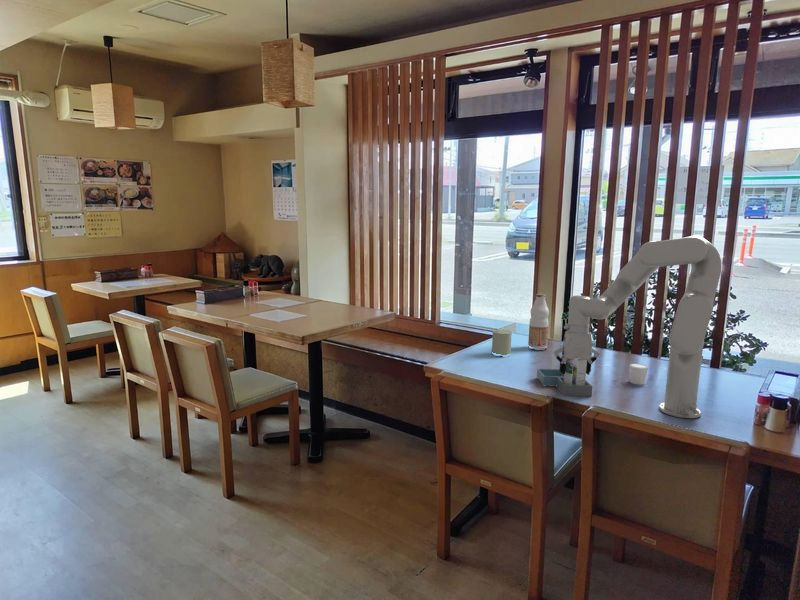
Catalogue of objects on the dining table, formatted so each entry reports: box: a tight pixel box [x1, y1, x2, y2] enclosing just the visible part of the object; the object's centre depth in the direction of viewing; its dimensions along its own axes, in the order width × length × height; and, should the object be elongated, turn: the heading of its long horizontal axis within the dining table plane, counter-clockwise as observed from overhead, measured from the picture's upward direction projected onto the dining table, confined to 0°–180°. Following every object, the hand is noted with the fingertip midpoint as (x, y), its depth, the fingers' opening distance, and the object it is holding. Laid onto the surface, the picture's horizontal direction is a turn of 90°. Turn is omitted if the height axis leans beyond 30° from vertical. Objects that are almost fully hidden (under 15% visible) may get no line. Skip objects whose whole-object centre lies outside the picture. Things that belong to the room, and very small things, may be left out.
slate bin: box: [536, 368, 564, 386], centre depth 203 cm, size 10×10×4 cm
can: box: [491, 329, 513, 355], centre depth 243 cm, size 9×9×12 cm
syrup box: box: [564, 357, 587, 386], centre depth 192 cm, size 6×6×14 cm
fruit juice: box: [527, 293, 550, 349], centre depth 255 cm, size 9×9×28 cm
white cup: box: [628, 363, 649, 386], centre depth 205 cm, size 7×7×7 cm
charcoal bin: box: [556, 377, 593, 397], centre depth 192 cm, size 10×10×4 cm
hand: (574, 373), depth 192 cm, fingers open, 8 cm apart
